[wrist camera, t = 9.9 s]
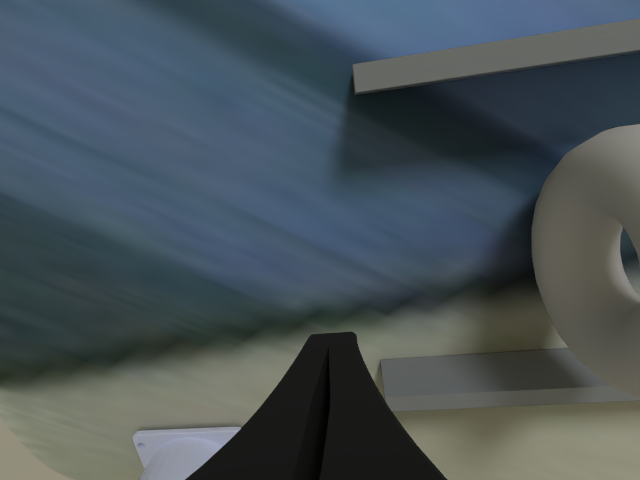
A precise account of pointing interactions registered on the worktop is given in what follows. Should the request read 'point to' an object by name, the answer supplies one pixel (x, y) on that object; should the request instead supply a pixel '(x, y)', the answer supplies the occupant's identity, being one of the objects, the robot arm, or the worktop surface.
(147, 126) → the worktop surface
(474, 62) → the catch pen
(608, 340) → the donut
